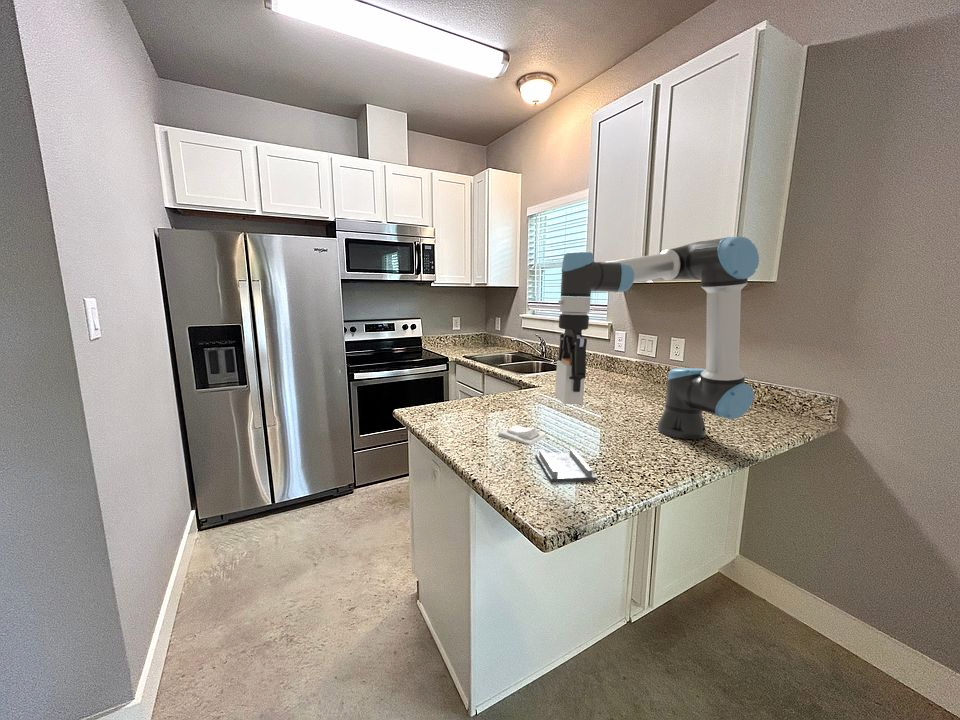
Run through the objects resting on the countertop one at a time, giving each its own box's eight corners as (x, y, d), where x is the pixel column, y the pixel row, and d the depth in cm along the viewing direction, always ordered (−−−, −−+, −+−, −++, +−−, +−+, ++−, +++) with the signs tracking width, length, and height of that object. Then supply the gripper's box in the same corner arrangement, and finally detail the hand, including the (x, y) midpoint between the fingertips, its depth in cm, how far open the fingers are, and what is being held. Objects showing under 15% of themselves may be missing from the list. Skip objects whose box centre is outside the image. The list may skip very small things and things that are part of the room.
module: (572, 395, 108) (574, 357, 106) (582, 403, 100) (585, 363, 98) (554, 395, 107) (557, 357, 106) (564, 404, 100) (566, 362, 98)
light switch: (531, 437, 122) (498, 425, 130) (530, 449, 123) (497, 437, 131) (548, 428, 130) (516, 417, 138) (546, 439, 131) (515, 428, 139)
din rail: (574, 455, 115) (575, 447, 115) (596, 480, 100) (596, 471, 99) (535, 456, 114) (535, 448, 114) (551, 482, 98) (551, 473, 98)
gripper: (548, 311, 110) (544, 389, 113) (574, 315, 89) (567, 410, 93) (574, 312, 111) (569, 389, 114) (605, 316, 90) (597, 410, 94)
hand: (568, 398), depth 104 cm, fingers closed on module, 8 cm apart
